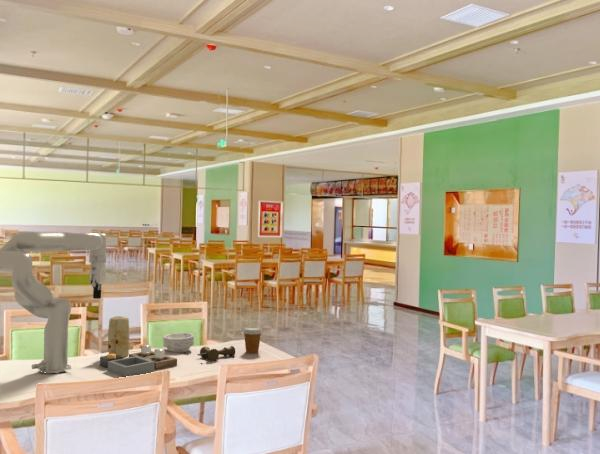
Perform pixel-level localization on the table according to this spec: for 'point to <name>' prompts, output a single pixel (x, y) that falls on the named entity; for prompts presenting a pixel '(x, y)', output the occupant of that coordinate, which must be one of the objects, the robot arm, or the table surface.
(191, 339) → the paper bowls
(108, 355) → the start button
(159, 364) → the brown compartment tray
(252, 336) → the disposable coffee cup
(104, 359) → the button housing
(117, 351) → the food model
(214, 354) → the kendama
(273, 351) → the table surface
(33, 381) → the table surface
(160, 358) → the cylinder
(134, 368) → the tray
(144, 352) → the cylinder
